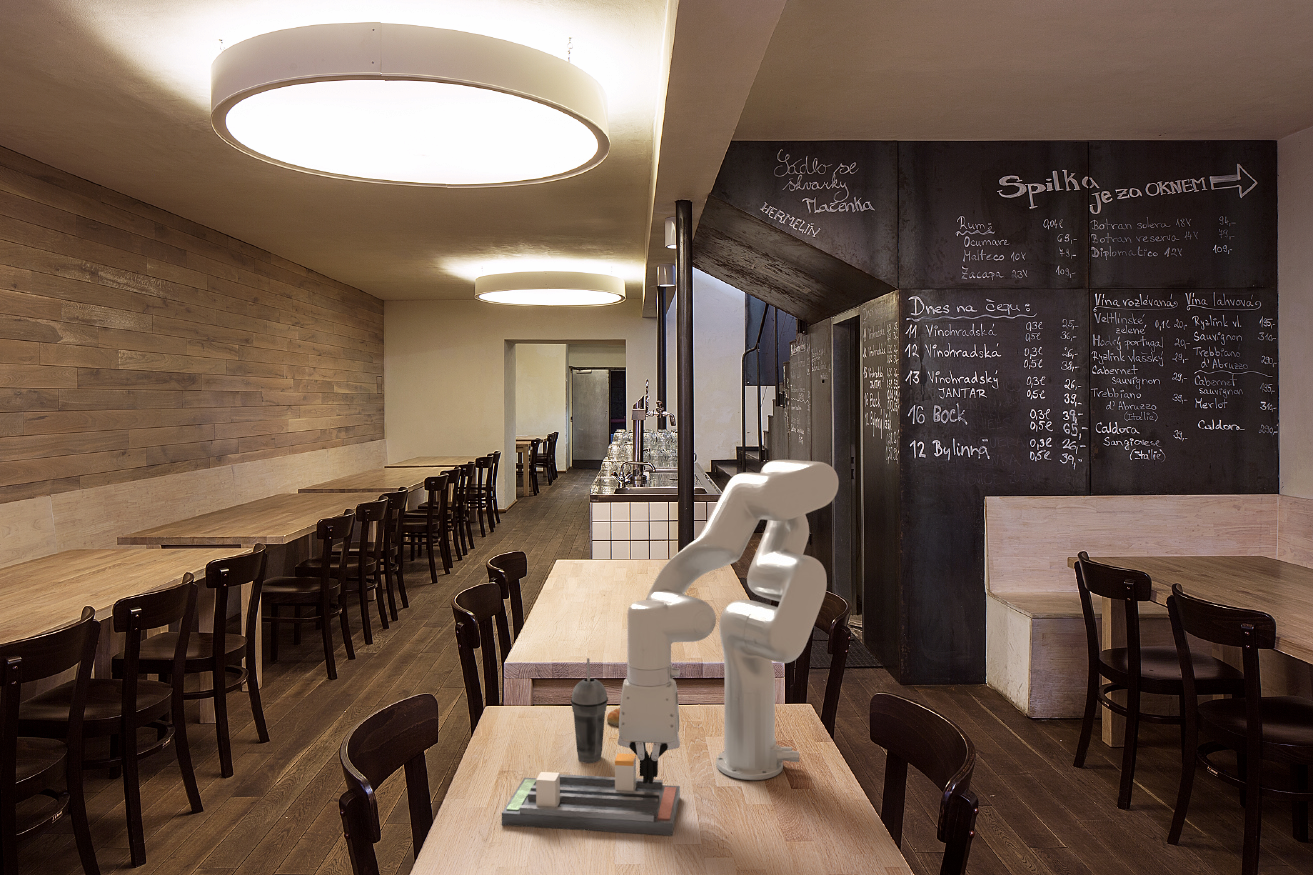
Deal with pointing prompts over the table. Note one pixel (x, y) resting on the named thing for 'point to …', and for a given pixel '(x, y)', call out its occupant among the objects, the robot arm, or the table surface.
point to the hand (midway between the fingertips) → (648, 779)
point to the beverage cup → (589, 717)
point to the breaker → (548, 789)
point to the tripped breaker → (625, 772)
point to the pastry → (614, 717)
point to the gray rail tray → (597, 806)
